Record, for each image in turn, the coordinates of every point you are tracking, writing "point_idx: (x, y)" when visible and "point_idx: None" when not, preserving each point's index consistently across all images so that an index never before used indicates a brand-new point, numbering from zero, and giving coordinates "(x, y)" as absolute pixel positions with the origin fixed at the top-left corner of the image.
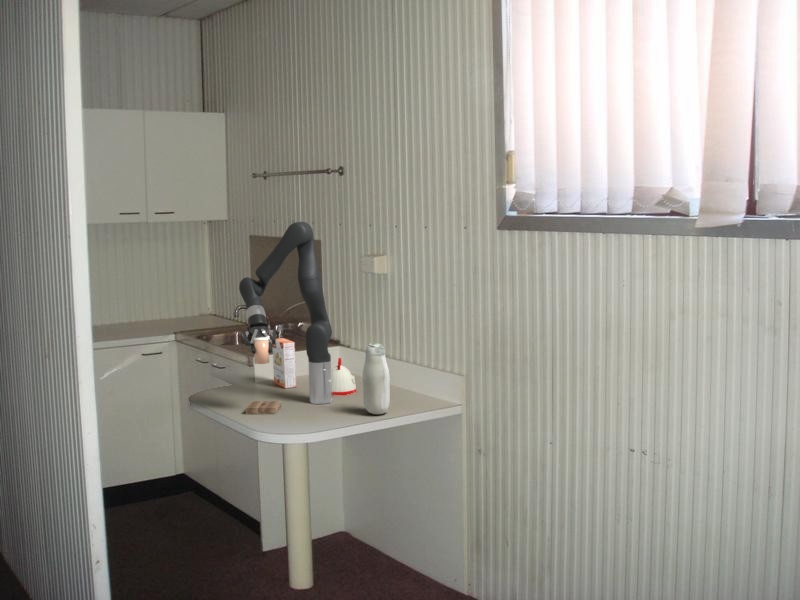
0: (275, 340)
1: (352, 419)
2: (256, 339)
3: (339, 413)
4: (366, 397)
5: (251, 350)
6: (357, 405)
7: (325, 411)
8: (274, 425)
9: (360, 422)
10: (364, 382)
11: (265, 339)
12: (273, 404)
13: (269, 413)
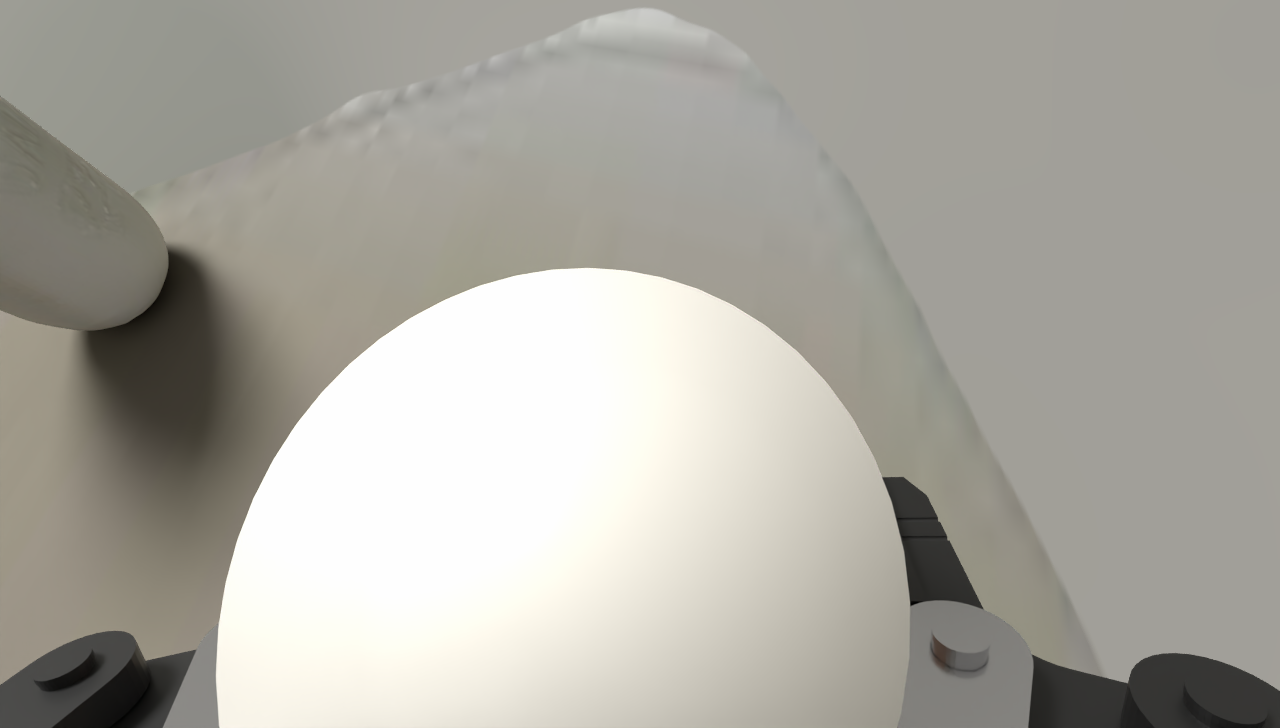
0: (82, 638)
1: (294, 218)
2: (782, 353)
3: (287, 361)
4: (110, 197)
5: (917, 502)
6: (94, 533)
7: None
8: (706, 205)
9: (291, 157)
10: (15, 143)
11: (446, 326)
12: None
13: None
